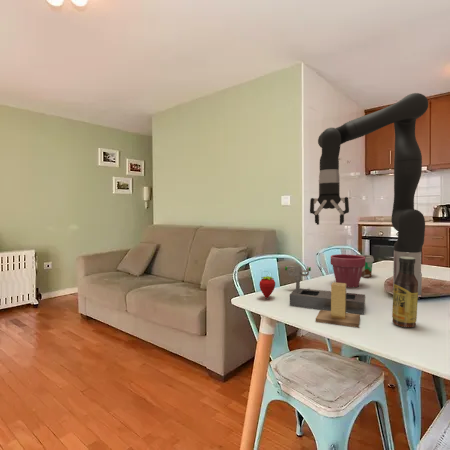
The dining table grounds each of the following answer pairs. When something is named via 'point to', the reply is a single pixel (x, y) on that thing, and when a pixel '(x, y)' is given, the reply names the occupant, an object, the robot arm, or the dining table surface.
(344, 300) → the brass peg
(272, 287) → the strawberry
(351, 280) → the plant pot
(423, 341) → the dining table surface
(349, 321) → the walnut board
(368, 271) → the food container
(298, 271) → the mechanical component
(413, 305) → the sauce bottle
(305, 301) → the grey slotted block
